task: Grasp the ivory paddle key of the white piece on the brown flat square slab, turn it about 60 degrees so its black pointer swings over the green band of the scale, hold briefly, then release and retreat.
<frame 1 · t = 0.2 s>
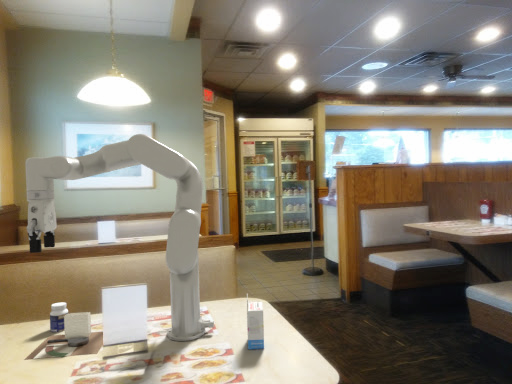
hand: (42, 249, 117), 31 cm above the table, fingers open, 9 cm apart
white piece: (68, 329, 115), point 6 cm above the table, hinge at 0.0°
pill bottle: (59, 333, 128), on the table
brown flat square slab: (72, 347, 115), on the table
ink box: (255, 344, 114), on the table
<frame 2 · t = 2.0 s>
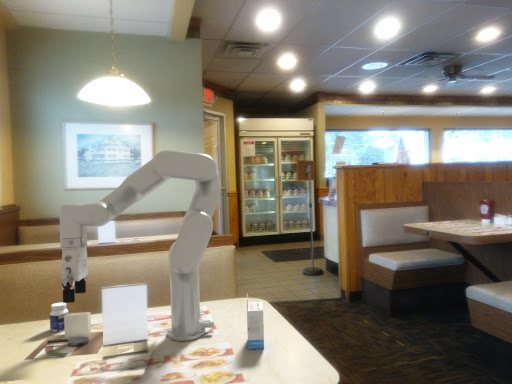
hand: (74, 297, 115), 16 cm above the table, fingers open, 9 cm apart
nothing on the table moved.
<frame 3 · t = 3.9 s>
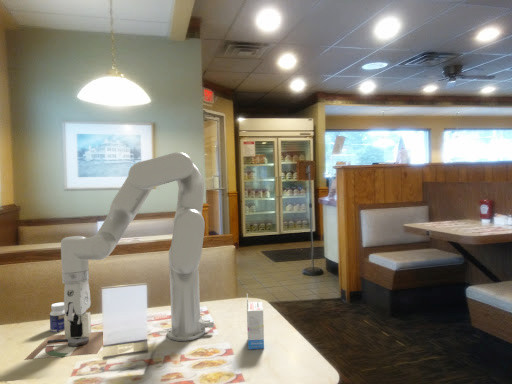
hand: (78, 334, 115), 4 cm above the table, fingers closed on white piece, 2 cm apart
white piece: (68, 329, 115), point 6 cm above the table, hinge at 0.0°, touching gripper
everything else where it was.
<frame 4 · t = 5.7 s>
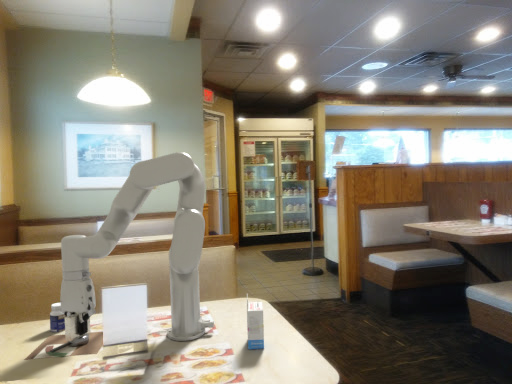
hand: (78, 332, 115), 5 cm above the table, fingers closed on white piece, 3 cm apart
white piece: (70, 331, 113), point 6 cm above the table, hinge at 56.7°, touching gripper
everything else where it was.
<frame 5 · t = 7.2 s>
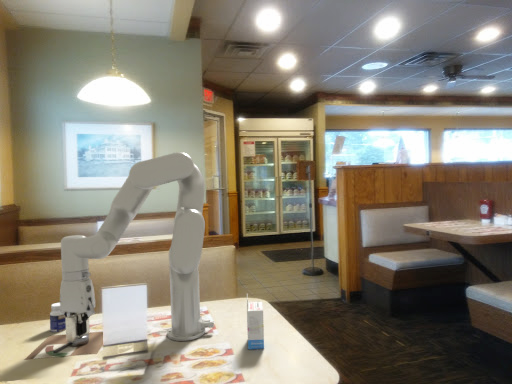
hand: (78, 333, 115), 4 cm above the table, fingers closed on white piece, 2 cm apart
white piece: (71, 331, 112), point 6 cm above the table, hinge at 64.9°, touching gripper
everything else where it was.
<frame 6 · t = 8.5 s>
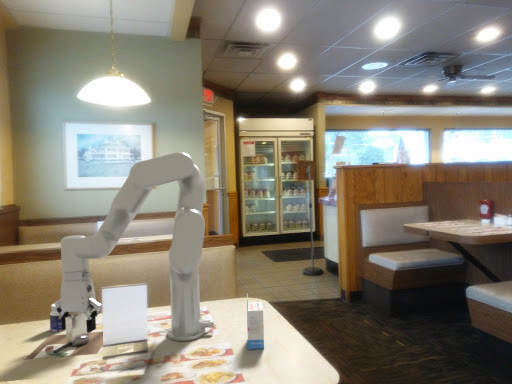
hand: (79, 329, 115), 6 cm above the table, fingers open, 9 cm apart
white piece: (71, 331, 112), point 6 cm above the table, hinge at 65.3°
everything else where it was.
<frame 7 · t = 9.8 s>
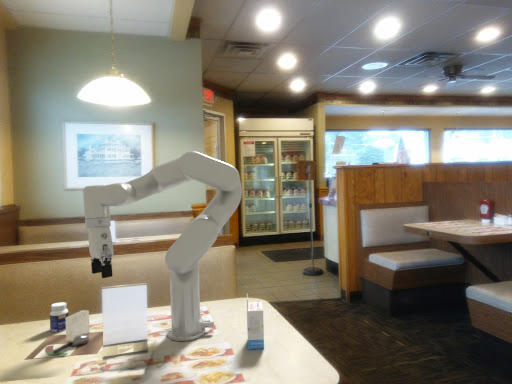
hand: (102, 275, 120), 21 cm above the table, fingers open, 9 cm apart
nothing on the table moved.
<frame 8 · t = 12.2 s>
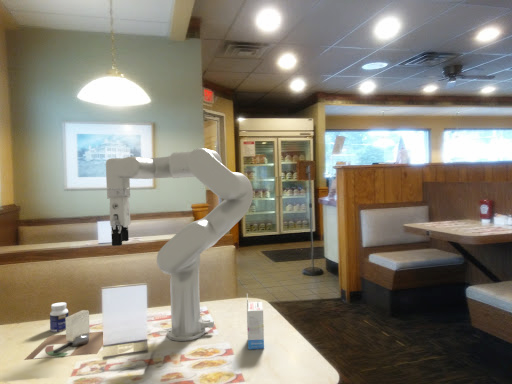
hand: (120, 243, 128), 30 cm above the table, fingers open, 9 cm apart
nothing on the table moved.
at the end: white piece at +65° (first picture: +0°); the gripper is holding nothing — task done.
